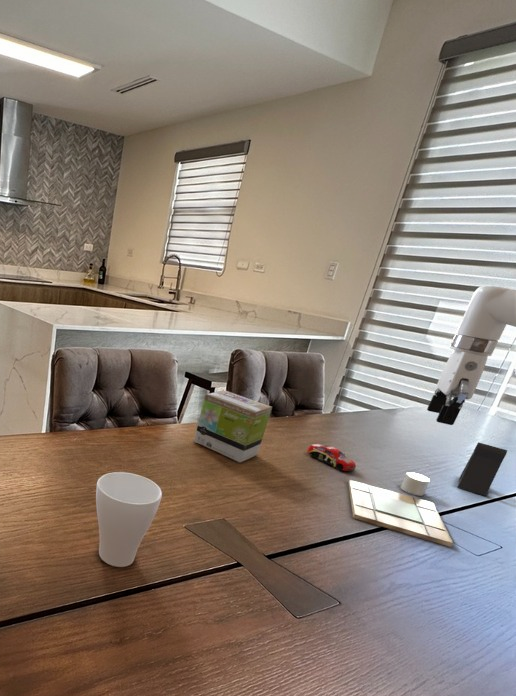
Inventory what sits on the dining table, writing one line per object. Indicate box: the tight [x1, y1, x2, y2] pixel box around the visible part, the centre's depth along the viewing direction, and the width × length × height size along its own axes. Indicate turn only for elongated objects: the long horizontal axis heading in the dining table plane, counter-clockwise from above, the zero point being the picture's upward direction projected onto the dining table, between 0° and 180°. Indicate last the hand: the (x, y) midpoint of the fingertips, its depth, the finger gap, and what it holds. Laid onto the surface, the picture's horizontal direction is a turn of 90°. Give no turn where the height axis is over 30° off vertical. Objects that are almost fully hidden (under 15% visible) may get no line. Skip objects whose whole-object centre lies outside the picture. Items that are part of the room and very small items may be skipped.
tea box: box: [193, 389, 273, 464], centre depth 128 cm, size 15×10×15 cm, turn 43°
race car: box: [306, 443, 356, 472], centre depth 130 cm, size 13×5×4 cm, turn 26°
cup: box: [95, 471, 163, 568], centre depth 78 cm, size 10×10×14 cm
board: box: [347, 479, 454, 548], centre depth 108 cm, size 18×20×1 cm
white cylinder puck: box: [400, 471, 431, 497], centre depth 119 cm, size 5×5×4 cm
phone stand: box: [457, 442, 508, 497], centre depth 124 cm, size 9×6×12 cm, turn 138°
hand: (439, 417), depth 110 cm, fingers open, 9 cm apart
